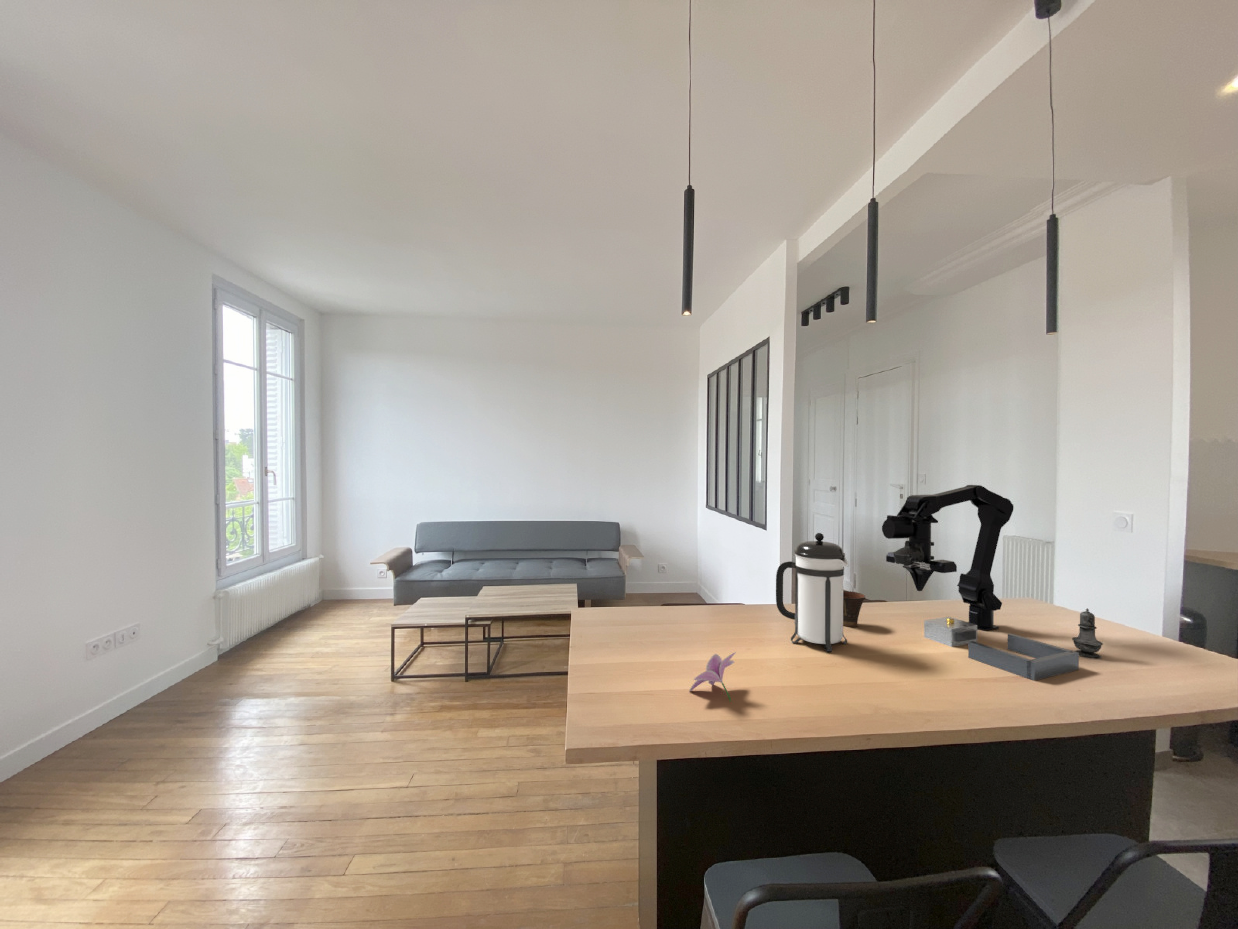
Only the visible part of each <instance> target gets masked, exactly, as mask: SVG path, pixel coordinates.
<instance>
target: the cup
mask: <svg viewBox="0 0 1238 929" xmlns="http://www.w3.org/2000/svg"><path fill="white" fill-rule="evenodd" d="M865 598H866V595H865V594H863V593H860V592H857V591H850V590H843V627H847V628H855V627H857V626H858V621H859V615H860V612H861V608H862V605H863V602H864V601H865Z"/></svg>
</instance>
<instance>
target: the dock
mask: <svg viewBox="0 0 1238 929" xmlns="http://www.w3.org/2000/svg"><path fill="white" fill-rule="evenodd" d="M967 646H968V648H967V649H968V650H967V651H968V659H972V660H975V661H977V662H981V663H982V664H986V665H989V666H991V667H994V668H996V669H997V668H998V669H999V670H1002V671H1006V672H1008V673H1012V674H1013V675H1014V674H1015V675H1017V676H1020V677H1022V678H1026V679H1029V680H1032V681H1035V682H1036V681H1040V680H1043V679H1047V678H1050V677H1054V676H1059V675H1063V674H1067V673H1071V672H1074V671H1077V670H1079V668H1080V666H1079V660H1080V659H1079V658H1080V656H1079V653H1078V652H1074V651H1075V650H1069V649H1066V648H1063V647H1060V646H1057V645H1053V644H1049V643H1046V642H1043V641H1039V640H1036V639H1031V638H1028V637H1026V636H1025V637H1024V636H1022V635H1017V634H1014V633H1008V634H1007V650H1009V651H1011V652H1008V651H1005V650H1002V649H999V648H996V647H992V646H989V645H986V644H983V643H980V642H978V641H977V642H974V641H970V642H968V644H967ZM1012 652H1016V653H1018V654H1022V655H1023V656H1021V655H1017V654H1014V653H1012ZM1024 656H1028V657H1031V658H1033V659H1031V658H1027V657H1024Z"/></svg>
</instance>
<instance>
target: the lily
mask: <svg viewBox="0 0 1238 929" xmlns="http://www.w3.org/2000/svg"><path fill="white" fill-rule="evenodd" d="M736 653H737V651H735V652H731V653H730V654H729V655H728V656H726V657H724V659H722V657H721V656H720V655H719V654H717V653H714V654H713V655H712V656H711V657H710V659H709V660H708V662H707V664H706V665H705V667H706V668H705V670H706V671H703V672H701V673H700V674H698V675H697V676H695V677H694V679H693V681H695V682H694V683H693V684H692V685H691V687H690V688H689V693H690V692H691V691H693V690H694V689H696V688H697V687H699V686H700V685H701V684H703V683H705V682H707V683H708V684H710V685H711V686H714V685H715V684H716V683H720V684H721V685H722V687H723V688H724V691H725V694H726V695H727V698H728V700H729V702H732V699H731V697H730V695H729V692H728V689H727V688H726V686H725V684H724V682H723V679H724V678H723V677H724V673H725V669H726V668H727V667H730V666H731V665H733V664H734V663H735V661H734V660H731V659H732V658H733V657H734V655H736Z"/></svg>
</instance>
